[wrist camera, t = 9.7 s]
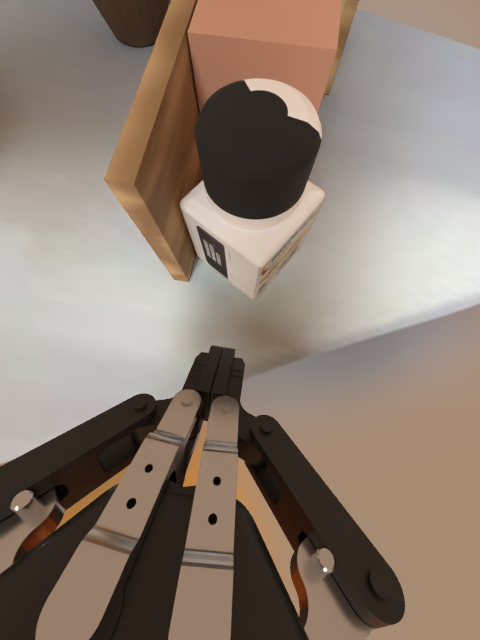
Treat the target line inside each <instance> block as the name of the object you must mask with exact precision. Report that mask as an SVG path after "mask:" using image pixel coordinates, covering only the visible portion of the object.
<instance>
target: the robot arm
mask: <svg viewBox="0 0 480 640" xmlns="http://www.w3.org/2000/svg"><path fill="white" fill-rule="evenodd" d="M234 356H235V349H232V348H226V347H224V348H223V347H219V346H213V345H212V346H211V348H210V351H209V353H204V352H201V353H200V354H199V355H198V356H197V357H196V358H195V361H194V363H193V365H192V368H191V370H190V372H189V375H188V377H187V379H186V382H185V384H184V386H183V389H182V391H180V392H178V393H177V394H176V395H175V396H174V397H173V398H170V399H166V400H157V401H155V399H154V397H153V396H151V395H149V394H138V395H136V396H133V397H132V398H130V399H128V400H126V401H124V402H122V403H120V404H118V405H116V406H115V407H113V408H111V409H109V410H107V411H105V412H103V413H101V414H99V415H97V416H96V417H94V418H92V419H90V420H88V421H86V422H84V423H82V424H80V425H79V426H77V427H75V428H73V429H71V430H69V431H67V432H65V433H63V434H62V435H60V436H58V437H56V438H54V439H52V440H50V441H48V442H46V443H44V444H43V445H41V446H39V447H37V448H35V449H33V450H31V451H29V452H27V453H26V454H24V455H22V456H20V457H18V458H16V459H14V460H12V461H10V462H8V463H7V464H5V465H3V466H1V467H0V640H366V638H367V637H368V635H369V633H370V632H371V630H373V629H377V628H381V627H385V626H389V625H393V624H396V623H398V622H399V621H400V620H401V619H402V617H403V615H404V611H405V601H404V595H403V591H402V588H401V585H400V583H399V581H398V579H397V577H396V575H395V573H394V572H393V570H392V569H391V567H390V566H389V565H388V564H387V562H386V561H385V560H384V558H383V557H382V556H381V555H380V553H379V552H378V551H377V549H376V548H375V547H374V546H373V544H372V543H371V542H370V540H369V539H368V538H367V537H366V535H365V534H364V533H363V531H362V530H361V529H360V528H359V526H358V525H357V524H356V522H355V521H354V520H353V519H352V517H351V516H350V515H349V513H348V512H347V511H346V510H345V508H344V507H343V506H342V504H341V503H340V502H339V501H338V499H337V498H336V497H335V495H334V494H333V493H332V491H331V490H330V489H329V488H328V486H327V485H326V484H325V482H324V481H323V480H322V479H321V477H320V476H319V475H318V473H317V472H316V471H315V470H314V468H313V467H312V466H311V464H310V463H309V462H308V461H307V459H306V458H305V457H304V455H303V454H302V453H301V452H300V450H299V449H298V448H297V446H296V445H295V444H294V442H293V441H292V440H291V439H290V437H289V436H288V435H287V433H286V432H285V431H284V430H283V428H282V427H281V426H280V424H279V423H278V422H277V421H276V420H275V419H274V418H272V417H271V416H268V415H260V416H257V417H255V416H253V415H251V414H249V413H247V412H246V411H245V410H244V409H243V408H242V406H241V403H240V396H241V389H242V382H243V375H244V367H245V364H244V362H243V359H241V358H235V357H234ZM208 419H209V422H208V428H207V433H206V439H205V444H204V446H203V451H202V456H201V461H200V467H199V472H198V478H197V484H196V486H189V487H183V484H184V479H185V474H186V471H187V468H188V465H189V462H190V459H191V456H192V454H193V451H194V448H195V445H196V443H197V440H198V437H199V434H200V430H201V427H202V423H203V420H204V421H208ZM238 457H239V458H241V459H243V460H244V461H245V464H246V466H247V468H248V470H249V472H250V473H251V475H252V477H253V479H254V480H255V482H256V484H257V486H258V487H259V489H260V491H261V493H262V495H263V496H264V498H265V500H266V502H267V503H268V505H269V507H270V509H271V510H272V512H273V514H274V516H275V518H276V519H277V521H278V523H279V525H280V527H281V528H282V530H283V532H284V534H285V535H286V537H287V539H288V541H289V543H290V544H291V546H292V548H293V550H294V551H295V552H294V554H293V555H292V558H291V562H290V573H291V578H292V582H293V585H294V587H295V590H296V592H297V595H298V599H299V608H300V615H299V617H298V614H297V612H296V610H295V608H294V605H293V603H292V601H291V599H290V597H289V595H288V592H287V591H286V588H285V586H284V584H283V582H282V580H281V577H280V575H279V573H278V571H277V569H276V567H275V565H274V562H273V560H272V558H271V556H270V554H269V551H268V549H267V547H266V545H265V543H264V541H263V539H262V536H261V534H260V532H259V530H258V528H257V525H256V523H255V521H254V520H253V517H252V516H251V514H250V513H249V511H248V510H247V509H246V507H245V506H244V505H243V504H242V503H241V502H239V501H238V500H237V499H236V484H237V463H238ZM128 465H130V466H129V467H128V469H127V471H126V473H125V474H124V476H123V478H122V479H121V481H120V483H119V484H117V485H115V486H113V487H112V488H110V489H108V490H107V491H106V492H104V493H103V494H102V495H100V496H99V497H98V498H97V499H95V500H94V501H93V502H91V503H90V504H89V505H88V506H86V507H85V508H84V509H82V510H81V511H80V512H79V513H77V514H76V515H75V516H73V517H72V518H71V519H70V520H68V521H67V522H66V523H65V524H63V525H62V526H61V527H59V528H58V529H57V527H58V525H59V524H60V522H61V520H62V518H63V515H64V512H65V510H67V509H68V508H70V507H71V506H72V505H74V504H75V503H76V502H78V501H79V500H81V499H82V498H84V497H85V496H86V495H88V494H89V493H90V492H92V491H93V490H95V489H96V488H98V487H99V486H100V485H102V484H103V483H104V482H106V481H107V480H108V479H110V478H111V477H113V476H114V475H115V474H117V473H118V472H120V471H121V470H123V469H124V468H125V467H127V466H128ZM56 529H57V530H56ZM55 530H56V531H55Z"/></svg>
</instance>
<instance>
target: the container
mask: <svg viewBox="0 0 480 640" xmlns="http://www.w3.org/2000/svg"><path fill="white" fill-rule="evenodd" d="M195 139H196V145H197V150H198V155H199V161H200V166H201V171H202V176H203V180H202V181H201V182H200V183H199V184H198V185H197V186H196V187H195V188H193V189H192V190H191V191H190V192H189V193H188V194H187V195H186V196H185V197H184V198H183V199H182V200H181V201H180V208H181V211H182V214H183V217H184V220H185V222H186V225H187V228H188V231H189V233H190V236H191V239H192V242H193V244H194V247H195V250H196V253H197V256H198V257H199V258H200V259H201V260H203V261H204V262H205V263H206V264H208V265H209V266H210V267H211V268H213V269H214V270H215V271H216V272H218V273H219V274H220V275H221V276H223V277H224V278H225V279H226V280H228V281H229V282H230V283H231V284H233V285H234V286H235V287H236V288H238V289H239V290H240V291H241V292H243V293H244V294H245V295H246V296H248V297H249V298H250V299H252V300H255V299H257V298H258V296H259V295H260V294H261V293H262V292H263V291H264V290H265V288H266V287H267V286H268V285H269V284H270V283H271V282H272V280H273V279H274V278H275V277H276V276H277V275H278V274H279V272H280V271H281V270H282V269H283V268H284V267H285V265H286V264H287V263H288V262H289V261H290V260H291V259H292V257H293V256H294V255H295V254H296V253H297V252H298V251H299V249H300V247H301V245H302V243H303V241H304V239H305V237H306V235H307V233H308V231H309V229H310V227H311V225H312V223H313V220H314V218H315V216H316V214H317V212H318V210H319V208H320V206H321V204H322V202H323V200H324V198H325V192H324V191H323V190H322V189H320V188H319V187H317V186H316V185H314V184H313V183H311V182H310V181H308V178H309V176H310V173H311V170H312V167H313V164H314V162H315V159H316V156H317V153H318V150H319V148H320V144H321V140H322V127H321V123H320V120H319V117H318V114H317V112H316V110H315V108H314V106H313V105H312V103H311V102H310V100H309V99H308V98H307V97H306V96H305V95H304V94H302V93H301V92H300V91H299V90H297V89H295V88H294V87H292V86H290V85H288V84H285V83H282V82H280V81H276V80H271V79H262V78H253V79H245V80H240V81H236V82H233V83H230V84H228V85H226V86H224V87H222V88H220V89H219V90H217V91H216V92H215V93H213V94H212V95H211V96H210V97H209V98H208V100H207V101H206V102H205V104H204V106H203V107H202V109H201V111H200V113H199V115H198V117H197V120H196V124H195Z"/></svg>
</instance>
